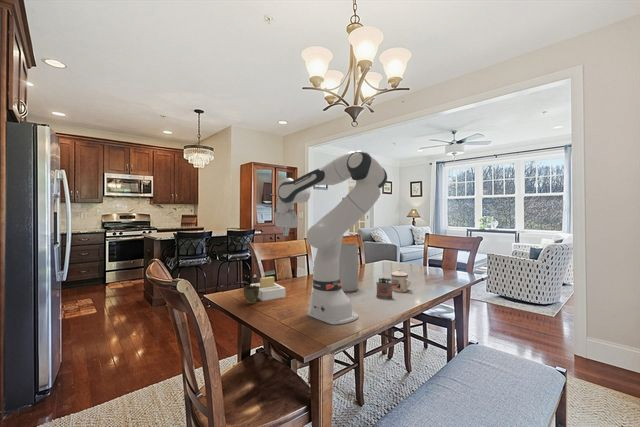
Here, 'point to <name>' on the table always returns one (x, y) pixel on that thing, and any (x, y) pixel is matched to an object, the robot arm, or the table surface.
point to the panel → (266, 282)
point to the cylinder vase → (348, 267)
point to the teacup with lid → (400, 281)
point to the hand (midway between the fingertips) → (285, 235)
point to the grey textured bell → (251, 293)
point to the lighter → (384, 288)
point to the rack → (270, 292)
